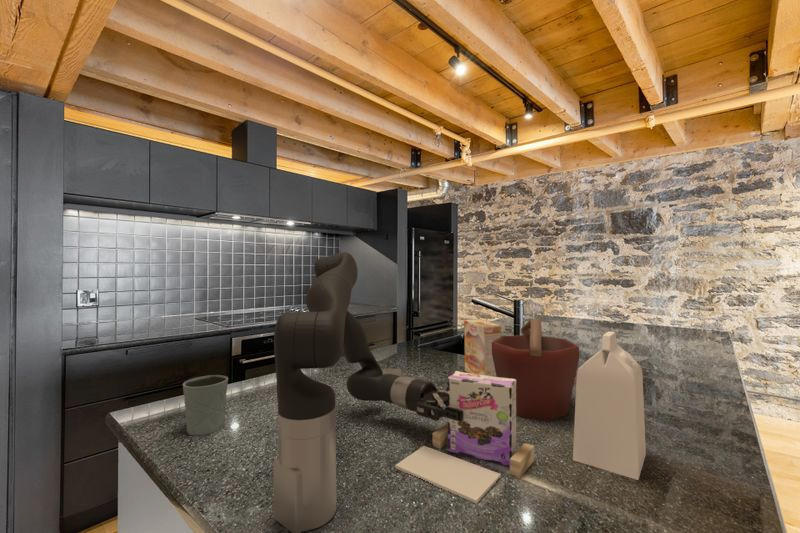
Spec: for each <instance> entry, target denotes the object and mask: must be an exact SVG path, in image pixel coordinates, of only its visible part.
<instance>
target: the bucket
mask: <svg viewBox="0 0 800 533" xmlns="http://www.w3.org/2000/svg"><path fill="white" fill-rule="evenodd" d="M541 320H542V319H541V318H533V317H532V318H530V319H529V320H528V321H527V322H526V323H525V324H524V325H523V326H522V327H521V328H520V334H519V335H518V334H517V335H501V337H499V338H498V339H496V340H494V341H493V342H492V356H493V361H494V366H495V371H496V376H497V377H500V378H509V379H516V417H519V418H522V419H530V420H531V419H532V420H540V421H548V422H549V421H550V422H551V421H553V420H557V419H558V418H562V417H563V416H566V415H568V413H569V410H570V404H571V403H570V402H571V400H572V399H571V398H572V394H573V388H574V386H575V381H576V380H575V378H576V377H577V372H578V366H579V362H580V346H579V345H577V344H575V343H573V342H571V341H569V339H566V338H559V337H552V336H545V335H543V329H542V328H543V327H542V321H541Z"/></svg>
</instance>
